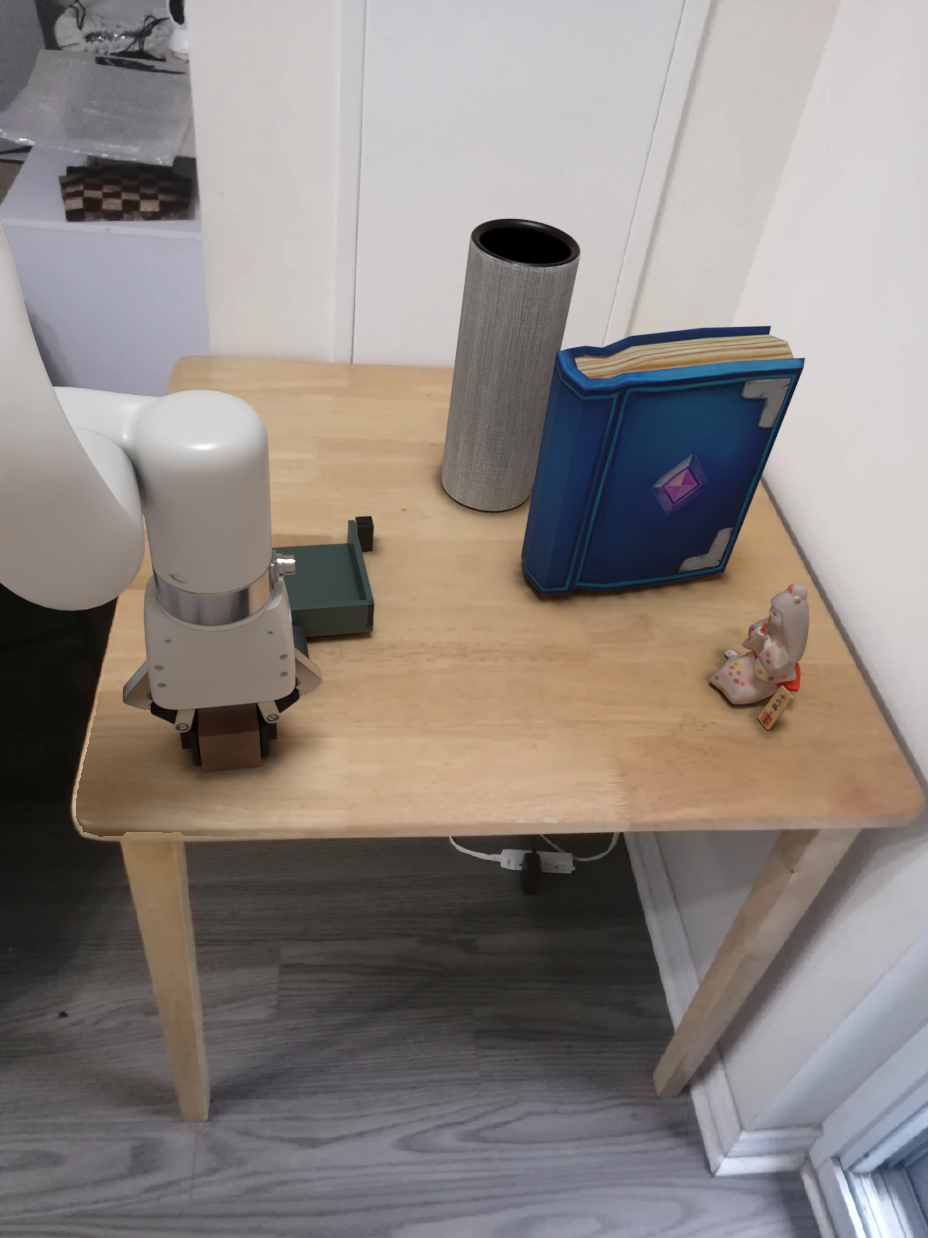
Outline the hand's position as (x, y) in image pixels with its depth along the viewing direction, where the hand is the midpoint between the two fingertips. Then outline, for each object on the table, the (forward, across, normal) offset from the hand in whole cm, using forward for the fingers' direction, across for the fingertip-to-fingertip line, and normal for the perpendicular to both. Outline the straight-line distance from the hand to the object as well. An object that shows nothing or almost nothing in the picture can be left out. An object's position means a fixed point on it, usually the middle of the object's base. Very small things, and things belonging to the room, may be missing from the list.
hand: (230, 744), depth 74 cm
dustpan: (-4, -6, -14) cm, 16 cm away
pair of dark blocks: (0, -6, -23) cm, 24 cm away
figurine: (+1, -46, 0) cm, 46 cm away
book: (+1, -39, -17) cm, 43 cm away
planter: (+1, -29, -32) cm, 43 cm away
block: (0, 0, 0) cm, 0 cm away
